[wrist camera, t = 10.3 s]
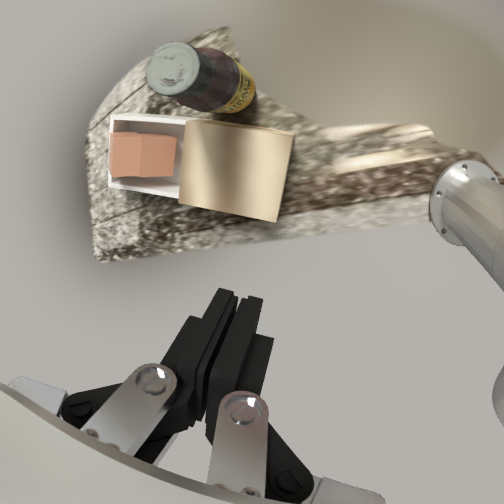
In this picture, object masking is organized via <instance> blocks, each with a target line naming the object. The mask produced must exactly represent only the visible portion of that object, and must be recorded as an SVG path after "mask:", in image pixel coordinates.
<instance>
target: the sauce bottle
mask: <svg viewBox="0 0 504 504" xmlns="http://www.w3.org/2000/svg"><path fill="white" fill-rule="evenodd" d="M146 78H147V81H148V84H149V85H150V87H151V89H153V90H154V91H155V92H156V93H159V94H160V95H163V96H168V97H174V98H175V97H176V98H177V102H178V103H179V104H181V105H184V106H186V107H189V108H192V109H195V110H197V111H200V112H209V113H210V112H211V113H235V112H238V111H240V110H242V109H244V108H245V107H246V106H248V105H249V104H250V102H251V101H252V99H253V97H254V94H255V89H256V88H255V82H254V79H253V77H252V76H251V74H250V73H249V72H248V71H247V70H245V69H244V68H243V67H242V66H241V65H240V64H239V63H238V62H236V61H235V60H234V59H232V58H231V57H230V56H228V55H226V54H225V53H224V52H222V51H219V50H217V49H213V48H195V47H193V46H191V45H189V44H186V43H183V42H170V43H167V44H165V45H163V46H161V47H160V48H158V49H157V50H156V51H155V52H154V53H153V54H152V56H151V57H150V59H149V61H148V63H147V66H146Z"/></svg>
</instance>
